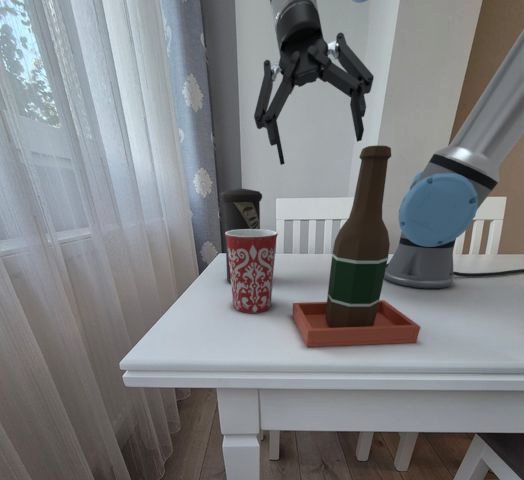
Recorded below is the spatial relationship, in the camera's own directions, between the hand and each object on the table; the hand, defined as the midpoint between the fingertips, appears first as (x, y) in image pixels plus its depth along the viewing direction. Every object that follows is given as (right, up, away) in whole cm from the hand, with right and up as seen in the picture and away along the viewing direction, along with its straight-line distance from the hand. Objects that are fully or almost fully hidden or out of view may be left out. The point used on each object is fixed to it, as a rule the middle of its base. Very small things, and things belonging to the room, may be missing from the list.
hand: (320, 148), depth 51 cm
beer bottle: (+4, -31, -3) cm, 31 cm away
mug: (-12, -26, +8) cm, 30 cm away
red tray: (+4, -31, -3) cm, 32 cm away
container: (-15, -18, +22) cm, 32 cm away
